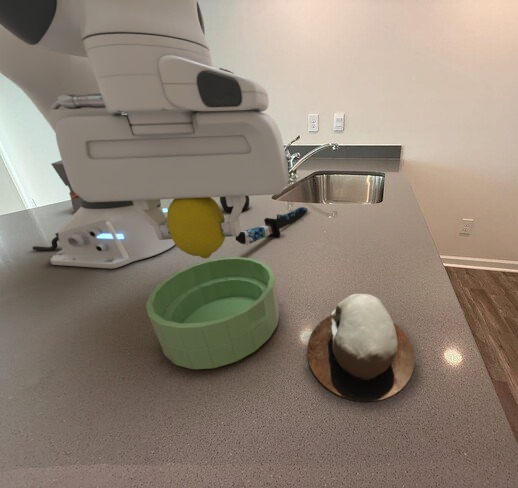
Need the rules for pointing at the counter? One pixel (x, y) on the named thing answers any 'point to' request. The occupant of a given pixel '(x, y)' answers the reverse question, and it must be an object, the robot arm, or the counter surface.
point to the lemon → (196, 225)
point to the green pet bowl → (214, 311)
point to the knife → (270, 227)
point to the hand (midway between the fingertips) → (201, 236)
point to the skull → (360, 351)
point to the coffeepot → (66, 183)
